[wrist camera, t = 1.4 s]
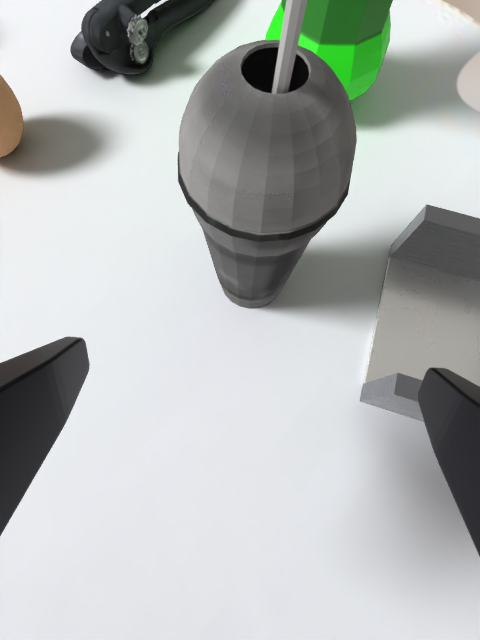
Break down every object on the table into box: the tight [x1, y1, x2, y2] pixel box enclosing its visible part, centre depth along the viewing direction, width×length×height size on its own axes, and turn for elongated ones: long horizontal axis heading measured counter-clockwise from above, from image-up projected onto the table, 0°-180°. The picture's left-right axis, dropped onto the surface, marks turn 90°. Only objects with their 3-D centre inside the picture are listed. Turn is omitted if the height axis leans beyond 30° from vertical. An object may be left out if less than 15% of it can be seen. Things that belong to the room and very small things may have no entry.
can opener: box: [70, 0, 214, 74], centre depth 30 cm, size 18×7×6 cm, turn 141°
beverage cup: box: [178, 0, 357, 308], centre depth 15 cm, size 7×7×20 cm
